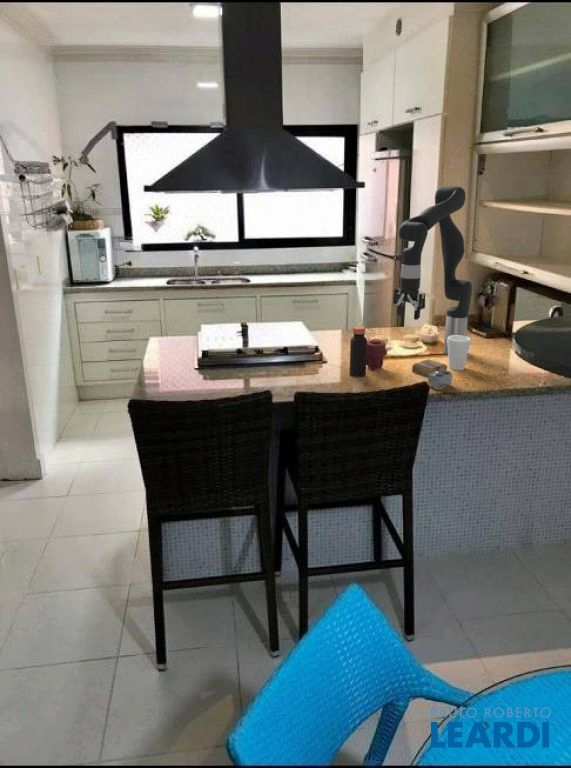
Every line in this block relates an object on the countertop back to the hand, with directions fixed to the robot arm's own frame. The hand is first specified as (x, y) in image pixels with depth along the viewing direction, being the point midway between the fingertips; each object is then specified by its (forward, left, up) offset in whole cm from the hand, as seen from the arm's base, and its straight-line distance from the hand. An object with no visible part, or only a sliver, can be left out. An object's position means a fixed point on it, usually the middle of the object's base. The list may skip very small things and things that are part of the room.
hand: (407, 317), depth 235 cm
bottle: (+12, -15, -25) cm, 32 cm away
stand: (-13, +2, -25) cm, 28 cm away
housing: (-3, +15, -25) cm, 30 cm away
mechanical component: (+1, -16, -25) cm, 30 cm away
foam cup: (-26, +6, -25) cm, 37 cm away
